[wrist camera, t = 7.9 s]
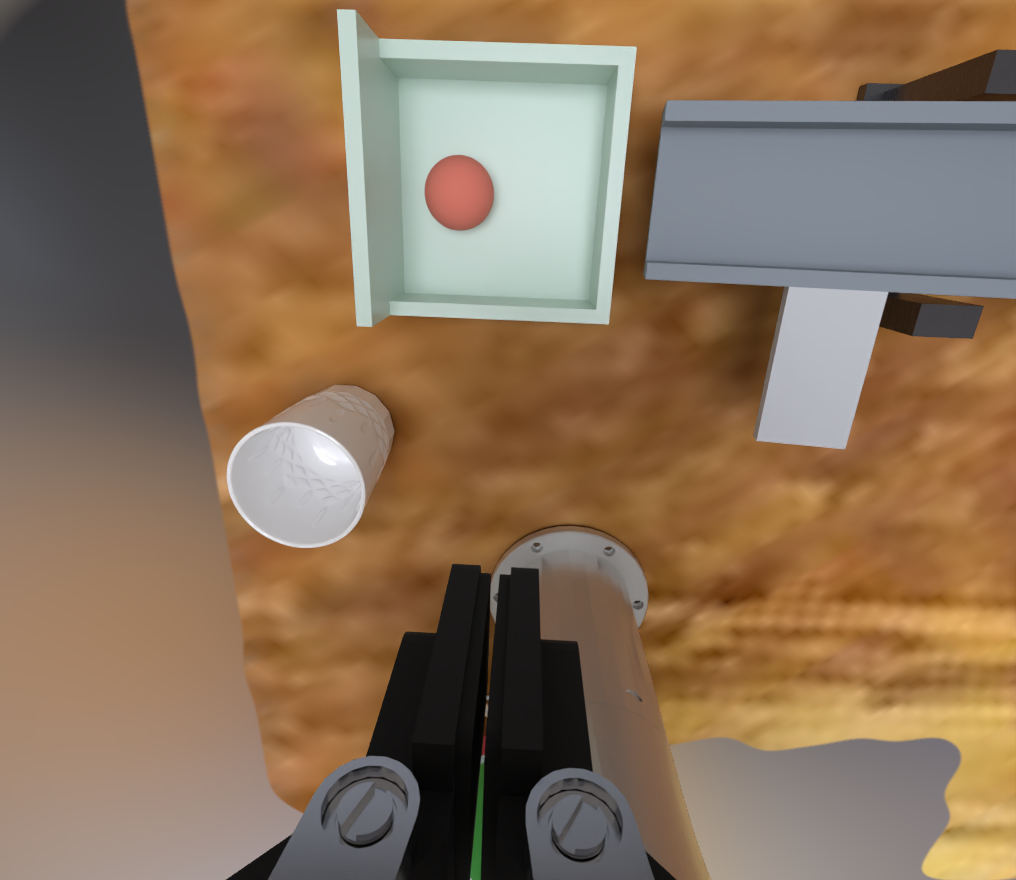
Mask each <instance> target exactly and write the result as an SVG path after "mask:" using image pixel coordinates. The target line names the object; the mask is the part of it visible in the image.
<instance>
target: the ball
mask: <svg viewBox="0 0 1016 880" xmlns="http://www.w3.org/2000/svg"><path fill="white" fill-rule="evenodd" d="M424 193H425V200H426V204H427V207H428V209H429V211H430V213H431V214H432V216H433V217H434V218H435V219H436V220H437V221H438V222H439V223H440V224H442V225H443V226H445V227H447V228H449V229H452V230H459V231H461V230H469V229H471V228H474V227H476V226H478V225H479V224H480V223H482V222H483V221H484V220H485V218H486V217H487V216H488V214H489V212H490V210H491V208H492V205H493V200H494V188H493V183H492V180H491V177H490V175H489V173H488V172H487V170H486V169H485V168H484V167H483V165H482V164H480V163H479V162H478V161H476V160H475V159H473V158H471V157H468V156H465V155H452V156H448V157H445V158H443V159H441V160H440V161H439V162H437V163H436V164H435V165H434V166H433V168H432V169H431V170H430V172H429V174H428V176H427V179H426V182H425V191H424Z"/></svg>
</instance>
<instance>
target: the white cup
mask: <svg viewBox="0 0 1016 880" xmlns="http://www.w3.org/2000/svg"><path fill="white" fill-rule="evenodd" d="M394 432H395V430H394V427H393V423H392V420H391V416H390V412H389V411H388V409H387V408H386V407H385V406H384V405H383V404H382V402H381V401H380V400H379V399H378V398H377V397H376V395H374V394H372V393H370V392H368V391H366V390H364V389H362V388H360V387H358V386H354V385H333V386H330V387H328V388H326V389H324V390H321V391H319V392H317V393H315V394H314V395H311V396H309V397H307V398H305V399H303V400H301V401H300V402H298V403H296V404H295V405H293V406H291V407H289V408H287V409H286V410H284V411H282V412H281V413H279V414H278V415H276V416H275V417H273V418H272V419H270V420H268V421H267V422H265V423H264V424H262V425H261V426H259V427H257V428H256V429H254V430H253V431H251V432H249V433H248V434H247V435H245V436H244V437H243V438H242V439H241V440H240V441H239V442H238V444H237V445H236V446H235V448H234V450H233V451H232V453H231V456H230V458H229V462H228V467H227V485H228V489H229V493H230V496H231V499H232V501H233V503H234V505H235V507H236V508H237V510H238V512H239V513H240V514H241V516H242V517H243V518H244V519H245V520H246V521H247V523H248V524H249V525H251V526H252V527H253V528H254V529H255V530H256V531H258V532H259V533H261V534H262V535H264V536H265V537H267V538H269V539H271V540H273V541H276V542H278V543H281V544H284V545H288V546H292V547H299V548H315V547H321V546H325V545H329V544H331V543H334V542H336V541H338V540H340V539H341V538H343V537H344V536H346V535H347V534H348V533H349V532H350V531H351V530H352V529H353V528H354V527H355V526H356V524H357V523H358V521H359V519H360V518H361V515H362V513H363V511H364V509H365V507H366V505H367V503H368V501H369V498H370V496H371V494H372V492H373V490H374V488H375V486H376V484H377V482H378V480H379V478H380V475H381V473H382V470H383V468H384V466H385V463H386V460H387V457H388V455H389V453H390V451H391V447H392V442H393V437H394Z"/></svg>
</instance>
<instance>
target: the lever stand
mask: <svg viewBox="0 0 1016 880" xmlns="http://www.w3.org/2000/svg"><path fill="white" fill-rule="evenodd" d="M857 101H1016V50H995V51H993V52H990V53H987V54H985V55H982V56H979V57H977V58H974V59H971V60H969V61H966V62H963V63H961V64H958V65H955V66H953V67H950V68H947V69H944V70H942V71H939V72H936V73H934V74H931V75H928V76H926V77H923V78H920V79H918V80H915V81H912V82H910V83H907V84H876V83H867V84H865V85H862V86H860V89H859V93H858V97H857ZM983 307H984V306H980V305H974V304H969V303H963V302H957V301H952V300H946V299H941V298H935V297H930V296H924V295H919V294H913V293H899V292H888V295H887V299H886V303H885V306H884V310H883V313H882V317H881V321H880V324H879V326H880V327H883V328H887V329H890V330H893V331H897V332H900V333H904V334H907V335H910V336H923V337H947V338H970V339H973V336H974V333H975V330H976V327H977V324H978V321H979V318H980V316H981V313H982V310H983Z"/></svg>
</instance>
